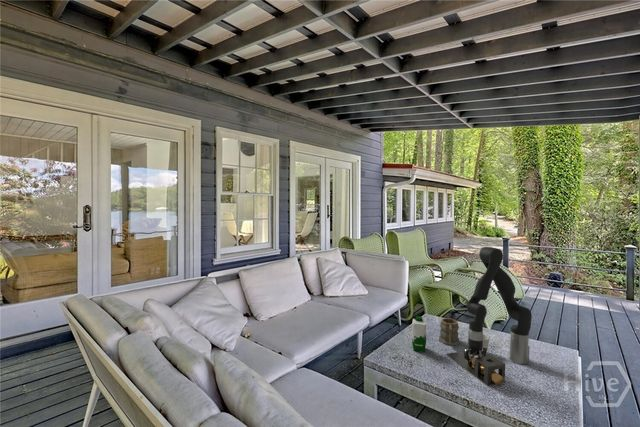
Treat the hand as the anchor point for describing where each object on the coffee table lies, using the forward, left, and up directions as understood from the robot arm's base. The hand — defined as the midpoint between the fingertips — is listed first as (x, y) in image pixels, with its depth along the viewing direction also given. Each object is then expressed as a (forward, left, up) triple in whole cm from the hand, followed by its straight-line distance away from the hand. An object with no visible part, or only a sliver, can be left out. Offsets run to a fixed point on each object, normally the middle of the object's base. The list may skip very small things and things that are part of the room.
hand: (474, 366), depth 184 cm
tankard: (-6, -31, -2) cm, 32 cm away
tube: (0, +7, -1) cm, 7 cm away
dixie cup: (-18, -15, -2) cm, 23 cm away
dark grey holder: (0, -1, -2) cm, 2 cm away
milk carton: (+18, -29, -2) cm, 34 cm away
